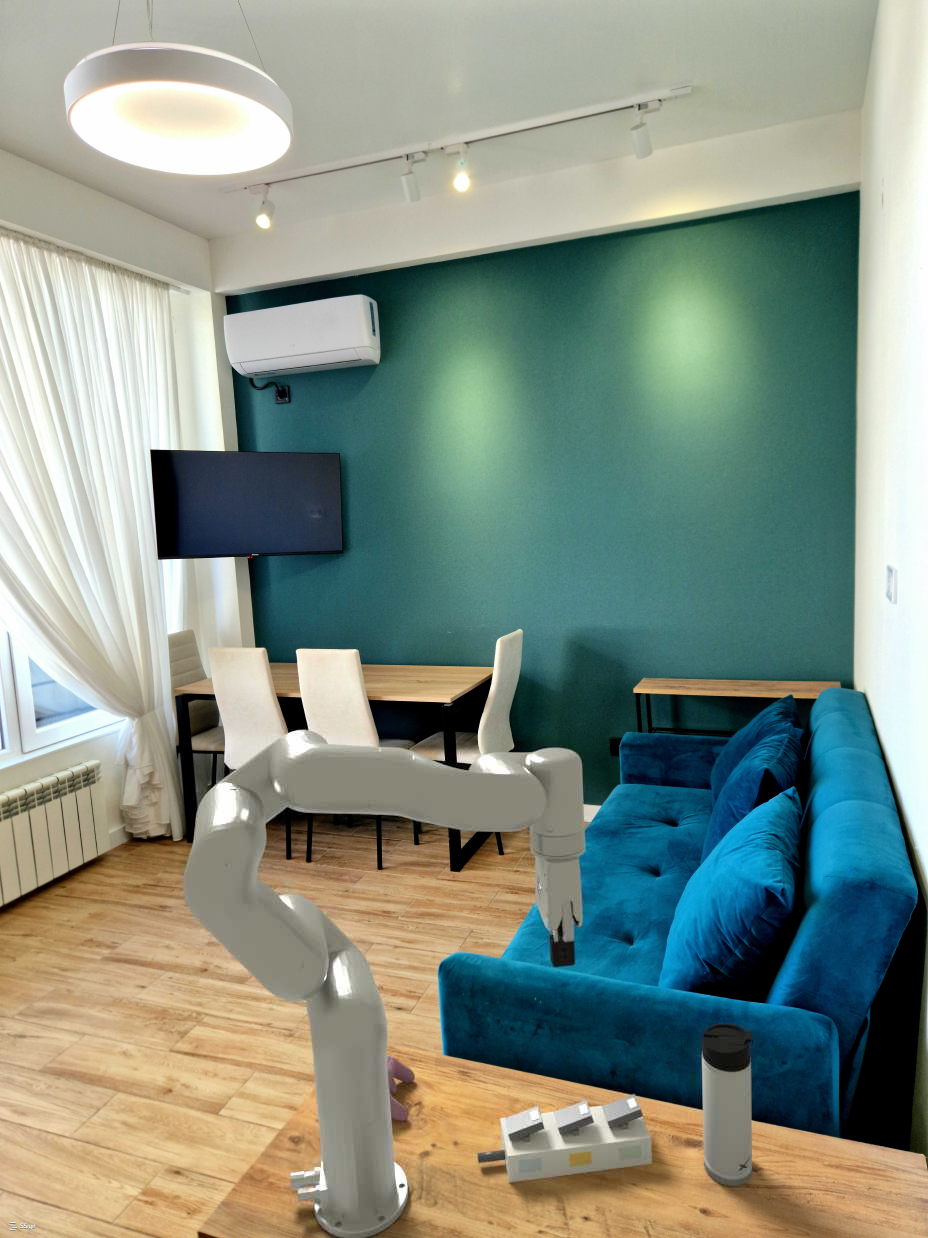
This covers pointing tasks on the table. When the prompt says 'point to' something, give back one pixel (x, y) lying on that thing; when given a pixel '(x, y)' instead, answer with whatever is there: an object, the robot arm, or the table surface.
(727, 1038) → the travel mug
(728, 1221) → the table surface
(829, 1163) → the table surface
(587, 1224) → the table surface
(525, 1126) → the block
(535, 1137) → the power strip
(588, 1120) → the rocker middle
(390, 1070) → the video game controller
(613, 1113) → the rocker
